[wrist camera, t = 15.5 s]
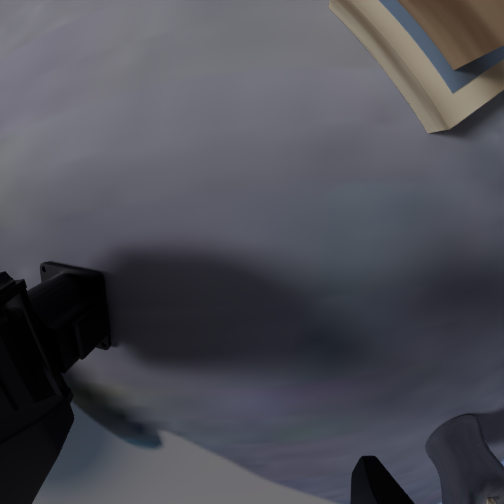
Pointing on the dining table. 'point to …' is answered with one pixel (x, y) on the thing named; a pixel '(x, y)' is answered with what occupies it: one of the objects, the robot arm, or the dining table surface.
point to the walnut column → (460, 26)
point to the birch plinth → (421, 63)
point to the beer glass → (466, 463)
